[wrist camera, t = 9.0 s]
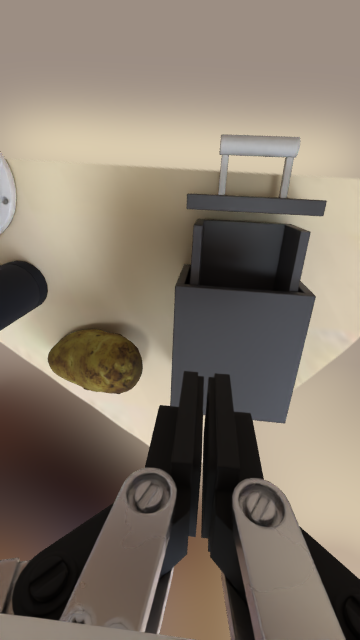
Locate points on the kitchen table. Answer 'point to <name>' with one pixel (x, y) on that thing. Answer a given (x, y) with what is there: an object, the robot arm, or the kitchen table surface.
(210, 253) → the handled dark box
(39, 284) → the pepper grinder
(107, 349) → the potato
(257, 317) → the dark gray cabinet
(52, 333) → the kitchen table surface
